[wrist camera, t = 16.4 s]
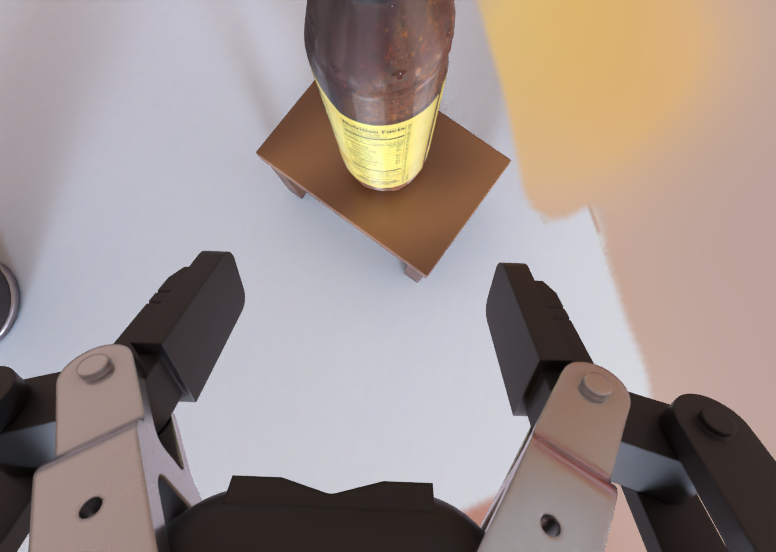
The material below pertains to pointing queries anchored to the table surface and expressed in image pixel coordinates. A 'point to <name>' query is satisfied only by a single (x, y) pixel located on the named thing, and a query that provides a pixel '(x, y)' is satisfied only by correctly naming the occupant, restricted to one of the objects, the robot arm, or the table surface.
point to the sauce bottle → (380, 80)
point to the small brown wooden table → (390, 208)
